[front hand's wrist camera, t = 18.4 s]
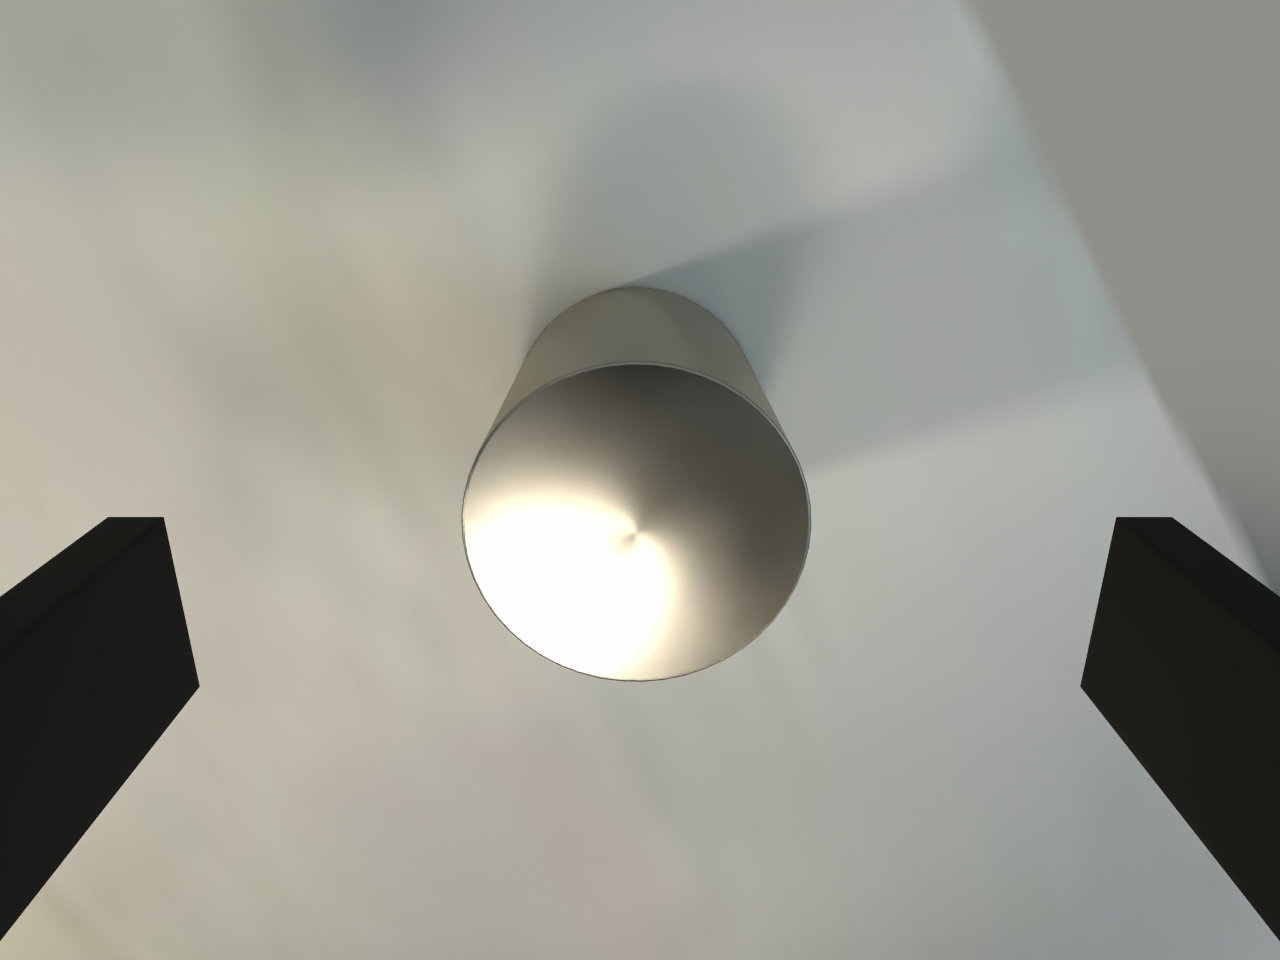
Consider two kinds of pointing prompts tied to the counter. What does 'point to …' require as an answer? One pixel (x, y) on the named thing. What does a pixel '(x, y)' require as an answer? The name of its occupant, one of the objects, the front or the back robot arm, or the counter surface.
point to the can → (636, 494)
